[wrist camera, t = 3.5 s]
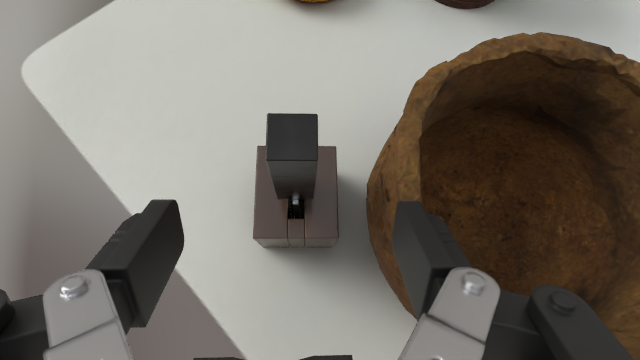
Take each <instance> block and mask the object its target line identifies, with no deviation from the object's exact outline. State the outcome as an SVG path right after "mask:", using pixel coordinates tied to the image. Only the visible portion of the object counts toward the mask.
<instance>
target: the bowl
mask: <svg viewBox="0 0 640 360" xmlns="http://www.w3.org/2000/svg"><path fill="white" fill-rule="evenodd" d="M398 201H420V202H421V204H422V205H423V207H424V209H425V211H426V212H427V214H435V215H436V216H437V217H439V218H440V219H441V220H442V221H444V222H445V223H446V225H447V227H448V228H449V230H450V231H451V234H452V235H453V236H454V238H455V239H456V242H457V243H458V244H459V246H460V248H461V249H462V251H463V252H464V254H465V256H466V257H467V259H468V260H469V262H470V264H471V265H472V267H473V268H475V269H478V270H481V271H483V272H485V273H486V274H488V275H489V276H491V277H492V278H493V279H494V280H495V281H496V282H497V284H498V285H499V288H500V289H502V290H505V291H509V292H514V293H518V294H523V295H527V296H531V294H532V291H533V290H534V288H535V287H537V286H539V285H554V286H558V287H561V288H564V289H566V290H569V291H571V292H572V293H574V294H576V295H577V296H579V297H580V298H581V299H583V300H584V301H585V302H586V303H587V304H588V305H589V307H590V308H591V309H592V310H593V311H594V312H595V314H596V315H597V316H598V317H599V318H600V320H601V321H602V322H603V323H604V324H605V325H606V327H607V328H608V329H609V330H610V331H611V333H612V334H613V335H614V336H615V337H616V338H617V340H618V341H619V342H620V343H621V344H622V345H623V347H624V348H625V349H626V350H627V351H628V353H629V354H630V355H631V356H632V357H633V358H634V360H640V63H639V62H637V61H634V60H631V59H628V58H627V57H626V56H624V55H622V54H615V53H614V52H613V51H612V50H611V48H610V47H606V46H602V45H598V44H595V43H590V42H586V41H583V40H581V39H578V38H573V37H569V36H563V35H555V34H550V33H543V32H540V33H536V34H532V35H529V34H525V33H521V34H516V35H512V36H508V37H504V38H501V39H496V38H493V39H490V40H487V41H484V42H482V43H480V44H478V45H476V46H475V47H474V48H472V49H471V50H469V51H467V52H464V53H461V54H460V55H458V56H457V57H456V58H455V59H453V60H451V61H449V62H447V61H445V62H443V63H440V64H438V65H437V66H435V67H433V68H431V69H429V70H428V72H427V73H426V74H425V75H424V77H422V78H421V79H419V80H418V81H417V82H416V83H415V85H414V87H413V88H412V90H411V93H410V95H409V97H408V100H407V103H406V105H405V108H404V111H403V116H402V117H401V119H400V120H399V122H398V124H397V125H396V127H395V128H394V131H393V132H392V134H391V135H390V137H389V138H388V140H387V142H386V144H385V145H384V147H383V149H382V151H381V153H380V155H379V157H378V159H377V161H376V164H375V166H374V168H373V170H372V172H371V175H370V178H369V180H368V183H367V199H366V202H367V218H368V227H369V234H370V240H371V244H372V246H373V249H374V252H375V255H376V258H377V261H378V264H379V267H380V269H381V271H382V273H383V274H384V276H385V278H386V280H387V281H388V283H389V285H390V286H391V288H392V289H393V291H394V292H395V294H396V295H397V297H398V298H399V300H400V301H401V303H402V304H403V306H404V307H405V309H406V310H407V311H408V312H410V313H411V314H412V315H413V316H414V317H415V318H416V316H415V313H414V310H413V307H412V304H411V301H410V298H409V296H408V293H407V290H406V287H405V284H404V281H403V278H402V275H401V272H400V270H399V267H398V264H397V261H396V258H395V255H394V252H393V248H392V232H393V226H394V219H395V213H396V207H397V203H398Z"/></svg>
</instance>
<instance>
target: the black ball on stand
mask: <svg viewBox="0 0 640 360" xmlns="http://www.w3.org/2000/svg"><path fill="white" fill-rule="evenodd" d="M436 1H437V2H439V3H442V4H444V5H447V6H450V7H455V8H463V9H471V8H478V7H482V6H485V5H487V4H489V3H491V2H493V1H494V0H436Z"/></svg>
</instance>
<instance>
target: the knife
mask: <svg viewBox="0 0 640 360" xmlns="http://www.w3.org/2000/svg"><path fill="white" fill-rule="evenodd" d="M265 160H266V163H267V166H268V169H269V173H270V176H271V179H272V182H273V185H274V189H275V192H276V195H277V198H278V199H293V210H294V217H295V219H300V199H314V192H315V183H316V174H317V165H318V115H317V114H270V113H269V114H267V132H266V159H265Z"/></svg>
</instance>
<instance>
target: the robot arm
mask: <svg viewBox="0 0 640 360" xmlns="http://www.w3.org/2000/svg"><path fill="white" fill-rule="evenodd" d="M183 247H184V233H183V228H182V223H181V218H180V213H179V208H178V204H177V202H176V200H151V201H150V203H149V204H148V205H147V207H146V208H145V209H144V210H143V212H142V213H136V214H135V215H133V216H132V217H130V218H129V219H127V220H126V221H124V222H123V223H122V224H121V225H120V227H119V228H118V229H117V230H116V231H115V234H113V235H112V236H111V238H110V239H109V242H107V243H106V244H105V245H104V246H103V247H102V249H101V250H100V251H99V252H98V254H97V255H96V256H95V257H94V259H93V260H92V261H91V262H90V263H89V265H88V266H87V267H86V268H85V270H80V271H75V272H72V273H70V274H67V275H65V276H63V277H61V278H59V279H58V280H56V281H55V282H53V283H52V284H51V285H50V286H49V287H48V288H47V289H46V291H45V292H44V294H43V295H39V296H34V297H30V298H25V299H21V300H16V301H12V302H11V301H10V299H9V298H8V296H7V294H6V292H5V291H3V290H1V289H0V360H135V359H134V357H133V354H132V351H131V348H130V346H129V343H128V340H127V337H126V335H127V333H128V331H129V329H130V328H131V327H146V325H147V323H148V321H149V319H150V317H151V315H152V313H153V311H154V309H155V306H156V304H157V303H158V300H159V298H160V296H161V294H162V292H163V290H164V288H165V286H166V284H167V282H168V280H169V278H170V276H171V274H172V272H173V270H174V268H175V265H176V263H177V261H178V259H179V257H180V255H181V253H182V251H183ZM392 248H393V252H394V255H395V258H396V261H397V264H398V267H399V270H400V272H401V275H402V278H403V281H404V284H405V287H406V290H407V293H408V296H409V298H410V301H411V304H412V307H413V310H414V313H415V316H416V319H417V322H418V323H417V325H416V327H415V329H414V331H413V333H412V335H411V336H410V338H409V340H408V342H407V344H406V346H405V347H404V349H403V351H402V353H401V355H400V357H399V359H398V360H634V358H633V357H632V356H631V355H630V354H629V353H628V351H627V350H626V349H625V348H624V347H623V345H622V344H621V343H620V342H619V341H618V340H617V338H616V337H615V336H614V335H613V334H612V333H611V331H610V330H609V329H608V328H607V327H606V325H605V324H604V323H603V322H602V321H601V320H600V318H599V317H598V316H597V315H596V314H595V312H594V311H593V310H592V309H591V308H590V307H589V305H588V304H587V303H586V302H585V301H584V300H583V299H581V298H580V297H579V296H577V295H576V294H574V293H572V292H571V291H569V290H566V289H564V288H561V287H558V286H554V285H539V286H537V287H535V288H534V290H533V291H532V294H531V296H527V295H523V294H518V293H514V292H509V291H505V290H502V289H500V288H499V285H498V284H497V282H496V281H495V280H494V279H493V278H492V277H491V276H489V275H488V274H486V273H485V272H483V271H481V270H478V269H475V268H473V267H472V265H471V264H470V262H469V260H468V259H467V257H466V256H465V254H464V252H463V251H462V249H461V248H460V246H459V244H458V243H457V242H456V239H455V238H454V236H453V235H452V234H451V231H450V230H449V228H448V227H447V225H446V223H445V222H444V221H442V220H441V219H440V218H439V217H437V216H436V215H435V214H427V212H426V211H425V209H424V207H423V205H422V204H421V202H420V201H398V203H397V207H396V213H395V219H394V226H393V232H392ZM194 360H243V359H238V358H234V357H224V358H194ZM300 360H352V355H332V356H311V357H308V358H304V359H300Z"/></svg>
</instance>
